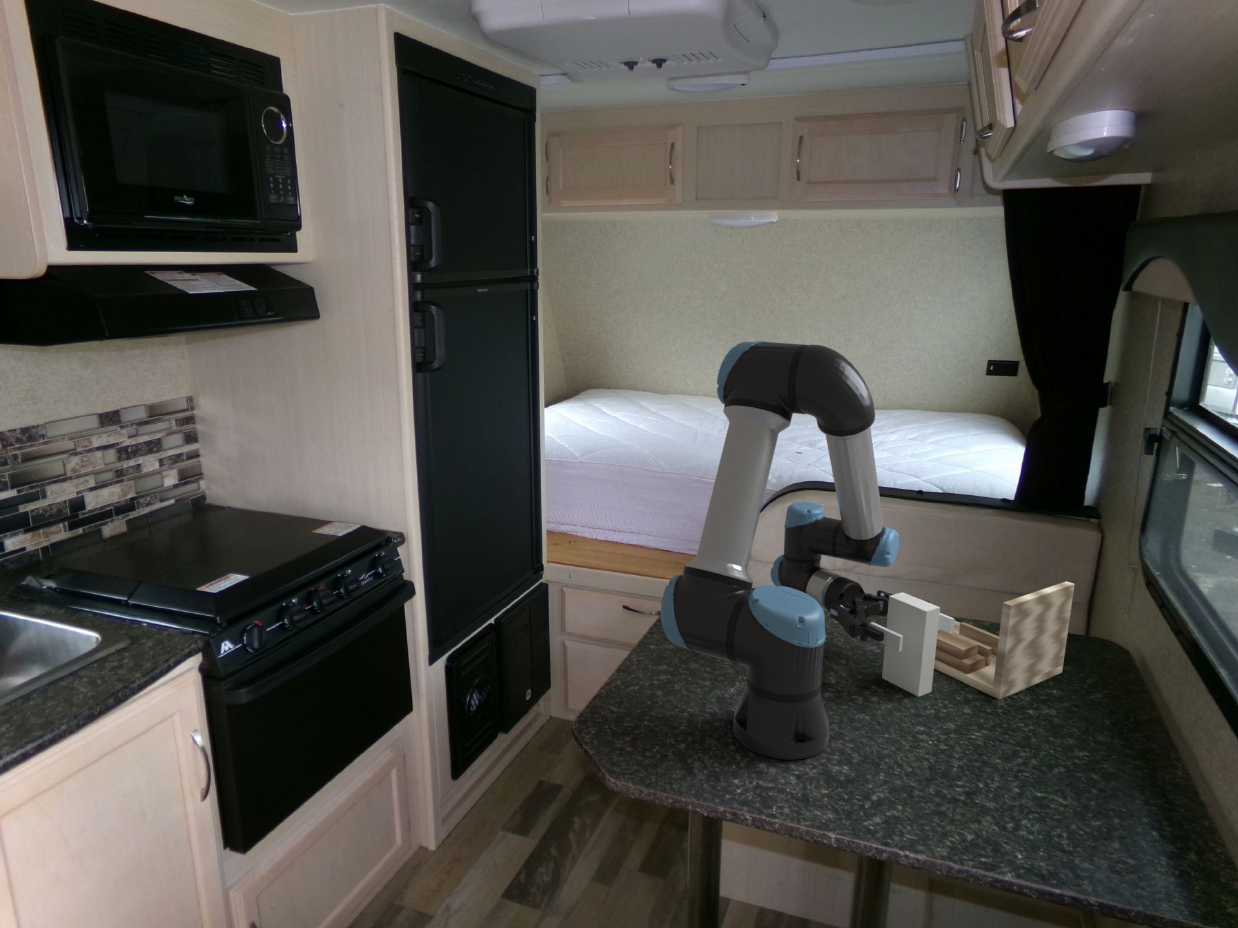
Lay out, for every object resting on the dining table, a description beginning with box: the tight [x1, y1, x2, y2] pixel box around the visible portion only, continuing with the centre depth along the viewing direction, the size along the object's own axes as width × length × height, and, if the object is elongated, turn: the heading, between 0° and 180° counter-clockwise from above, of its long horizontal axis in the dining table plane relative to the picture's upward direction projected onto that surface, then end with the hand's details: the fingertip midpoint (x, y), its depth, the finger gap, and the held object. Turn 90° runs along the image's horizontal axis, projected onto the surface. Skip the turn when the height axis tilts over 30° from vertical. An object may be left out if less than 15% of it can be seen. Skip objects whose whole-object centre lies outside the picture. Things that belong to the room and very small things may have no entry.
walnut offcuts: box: [935, 629, 986, 674], centre depth 154 cm, size 5×10×4 cm, turn 32°
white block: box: [881, 591, 941, 698], centre depth 146 cm, size 4×8×16 cm, turn 32°
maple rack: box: [934, 581, 1076, 700], centre depth 156 cm, size 19×24×18 cm
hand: (927, 634), depth 143 cm, fingers open, 13 cm apart
